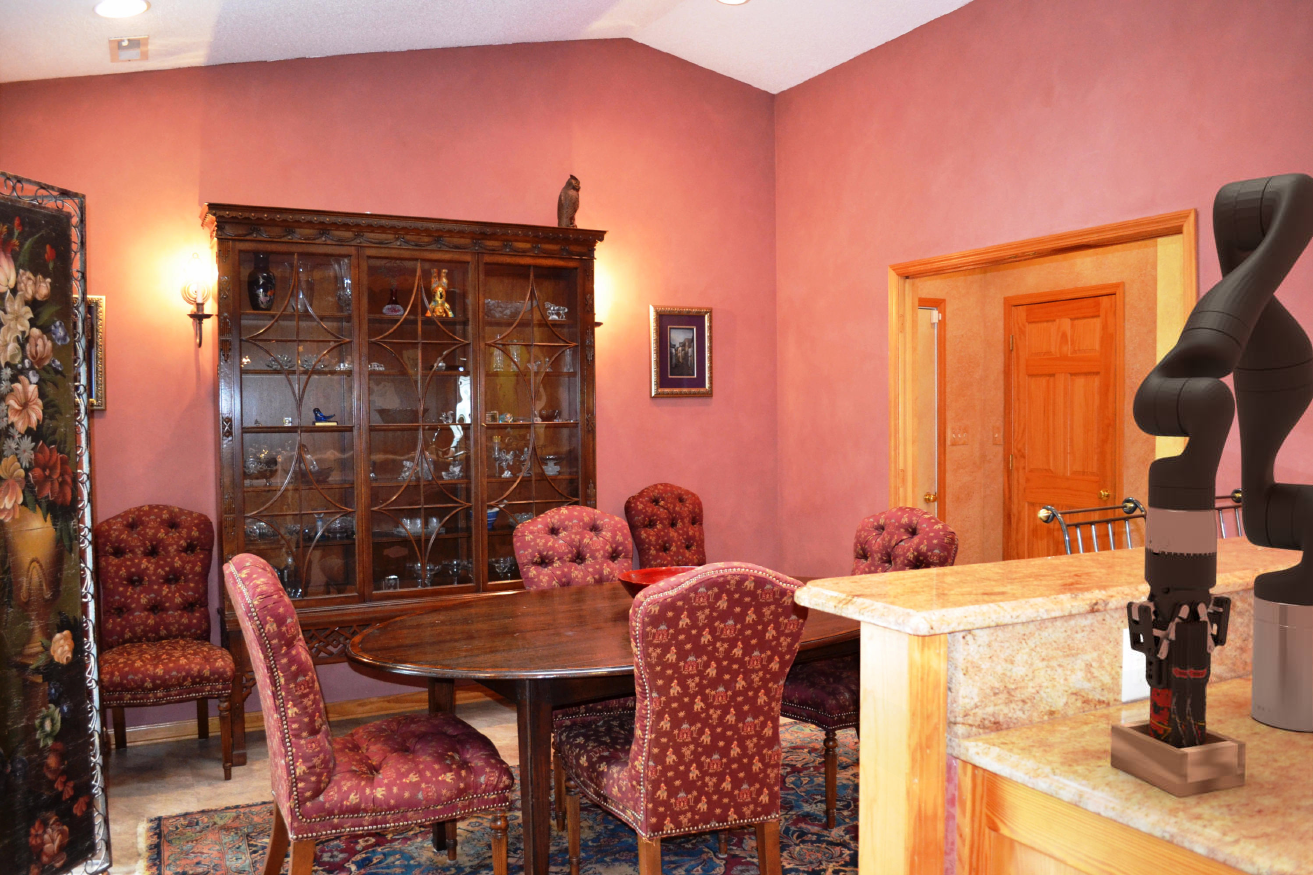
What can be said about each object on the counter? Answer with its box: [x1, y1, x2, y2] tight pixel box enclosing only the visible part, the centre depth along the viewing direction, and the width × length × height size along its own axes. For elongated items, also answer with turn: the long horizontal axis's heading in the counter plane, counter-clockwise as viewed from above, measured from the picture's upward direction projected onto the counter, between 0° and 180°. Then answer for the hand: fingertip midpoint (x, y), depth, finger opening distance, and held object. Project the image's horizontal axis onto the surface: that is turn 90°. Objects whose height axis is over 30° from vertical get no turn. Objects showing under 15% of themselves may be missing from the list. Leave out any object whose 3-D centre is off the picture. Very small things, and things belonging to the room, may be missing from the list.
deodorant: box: [1149, 619, 1208, 749], centre depth 113 cm, size 6×6×15 cm
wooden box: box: [1110, 718, 1247, 798], centre depth 113 cm, size 10×10×5 cm
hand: (1177, 684), depth 113 cm, fingers closed on deodorant, 6 cm apart
